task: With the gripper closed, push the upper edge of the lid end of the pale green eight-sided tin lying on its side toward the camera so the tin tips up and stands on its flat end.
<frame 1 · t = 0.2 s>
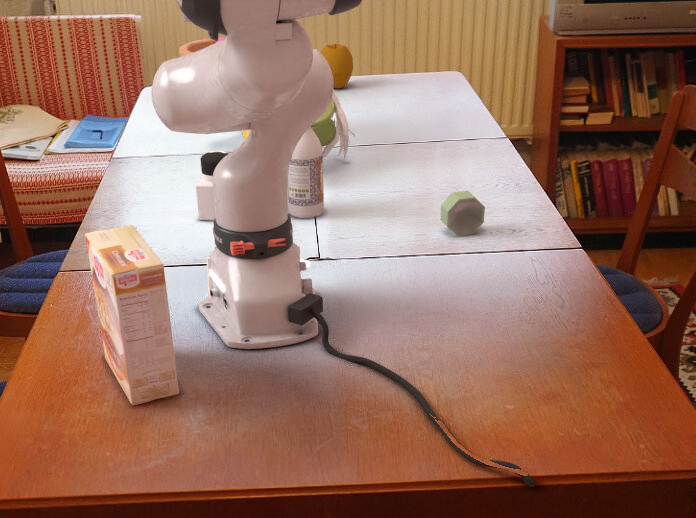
hand: (218, 18, 154), 39 cm above the table, tool pointing down, fingers open, 8 cm apart
pottery: (225, 103, 257), on the table
medicine bottle: (221, 215, 188), on the table
apple: (335, 88, 265), on the table
tin: (462, 213, 175), point 3 cm above the table
coffeecake box: (141, 376, 137), on the table
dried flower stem: (279, 155, 218), on the table
bath foam: (306, 213, 188), on the table
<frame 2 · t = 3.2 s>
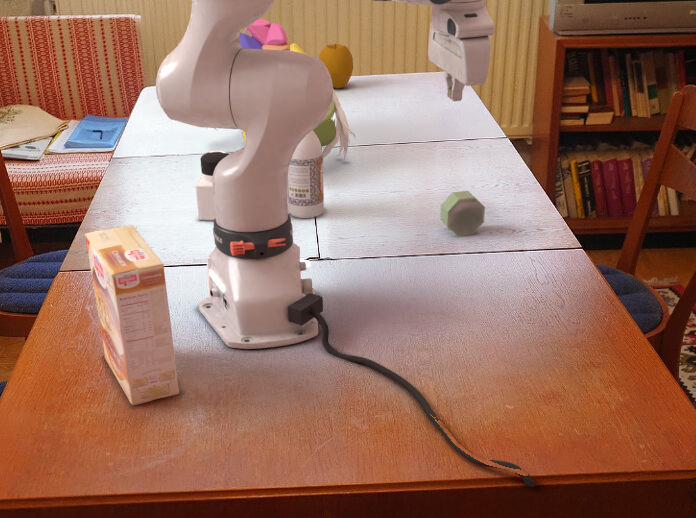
hand: (454, 99, 171), 22 cm above the table, tool pointing down, fingers closed
nothing on the table moved.
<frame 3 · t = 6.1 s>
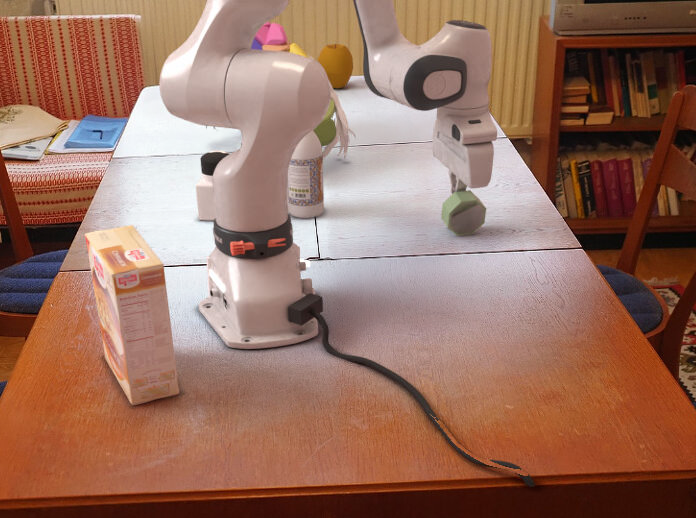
hand: (458, 195, 175), 6 cm above the table, tool pointing down, fingers closed
tin: (463, 213, 174), point 4 cm above the table, tilted 8°, touching gripper
everything else where it was.
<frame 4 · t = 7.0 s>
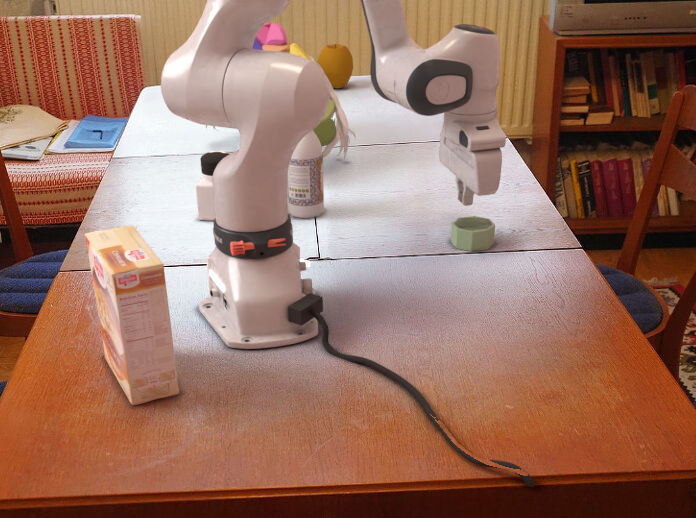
hand: (465, 202, 172), 6 cm above the table, tool pointing down, fingers closed
tin: (472, 233, 171), point 2 cm above the table, tilted 90°
everything else where it was.
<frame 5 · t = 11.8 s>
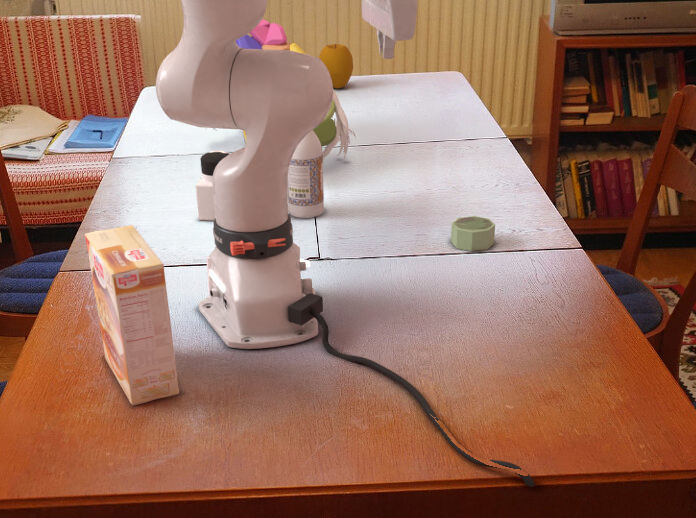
hand: (386, 57, 169), 29 cm above the table, tool pointing down, fingers closed
nothing on the table moved.
at the end: tin tilted 90°; tin inside the target area (0.4 cm from its centre), point 1.8 cm above the table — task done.
